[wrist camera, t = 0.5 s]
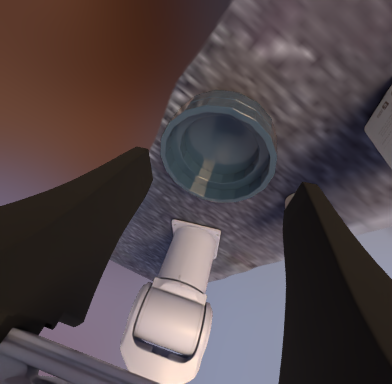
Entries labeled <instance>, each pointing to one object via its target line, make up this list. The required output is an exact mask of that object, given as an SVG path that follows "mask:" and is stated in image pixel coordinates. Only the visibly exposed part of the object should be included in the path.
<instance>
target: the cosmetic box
mask: <svg viewBox="0 0 392 384" xmlns="http://www.w3.org/2000/svg"><path fill="white" fill-rule="evenodd" d="M364 130H365V132H366V134H367V135H368V137H369V138H370V140H371V141H372V142H373V144H374V145H375V147H376V148H377V150H378V151H379V152H380V154H381V155H382V157H383V158H384V159H385V161H386V162H387V164H388V165H389V166H390V168H391V169H392V85H391V87H390V88H389V90H388V91H387V92H386V94H385V96H384V97H383V99H382V100H381V102H380V104H379V105H378V107H377V108H376V110H375V111H374V113H373V114H372V116H371V118H370V119H369V121H368V123H367V124H366V126H365V129H364Z"/></svg>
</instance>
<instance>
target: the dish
mask: <svg viewBox="0 0 392 384" xmlns="http://www.w3.org/2000/svg"><path fill="white" fill-rule="evenodd" d="M160 154H161V158H162V161H163V164H164V167H165V169H166V171H167V172H168V174H169V175H170V176H171V178H172V179H173V180H174V182H175V183H176V184H178V185H179V186H180V187H182V188H183V189H184V190H185V191H187V192H188V193H190V194H192V195H194V196H197V197H199V198H201V199H203V200H208V201H213V202H217V203H231V202H239V201H242V200H245V199H249V198H251V197H253V196H255V195H256V194H258V193H259V192H261V191H262V190H263V189H265V188H266V186H267V185H268V183H269V182H270V180H271V179H272V177H273V176H274V174H275V169H276V162H277V135H276V132H275V129H274V125H273V122H272V119H271V118H270V116H269V115H268V114H267V113H266V112H265V111H264V109H263V108H262V107H261V106H260V105H259V104H258V103H257V102H256V101H254V100H252V99H250V98H248V97H246V96H244V95H242V94H240V93H238V92H231V91H222V90H213V91H210V92H206V93H203V94H199V95H196V96H194V97H193V98H192V99H190V100H189V101H188V102H187V103H185V104H184V105H183V106H182V107H181V108H180V109H179V110H178V112H177V113H176V114H175V116H174V117H173V118H172V119H171V121H170V122H169V124H168V125H167V127H166V129H165V131H164V133H163V135H162V137H161V150H160Z"/></svg>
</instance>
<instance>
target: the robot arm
mask: <svg viewBox="0 0 392 384" xmlns="http://www.w3.org/2000/svg"><path fill="white" fill-rule="evenodd" d="M152 181H153V177H152V170H151V164H150V157H149V150H148V149H146V148H141V147H135V148H133V149H131V150H129V151H127V152H125V153H124V154H122V155H120V156H118V157H117V158H115V159H113V160H111V161H109V162H107V163H105V164H104V165H102V166H100V167H98V168H96V169H94V170H92V171H90V172H88V173H86V174H84V175H82V176H80V177H78V178H76V179H74V180H72V181H70V182H67V183H65V184H63V185H60V186H58V187H55V188H53V189H50V190H48V191H45V192H43V193H39V194H37V195H34V196H31V197H28V198H25V199H22V200H19V201H16V202H13V203H10V204H6V205H3V206H0V384H185V383H187V382H189V381H191V380H192V379H193V378H195V377H196V373H197V372H198V371H199V368H200V363H201V360H202V356H203V354H204V351H205V349H206V346H207V342H208V338H209V334H210V329H211V322H212V308H211V306H210V303H207V302H206V298H207V295H205V292H206V287H207V283H208V278H209V274H210V269H211V265H212V261H213V259H216V256H217V251H218V245H219V240H220V234H221V231H220V230H218V229H214V228H210V227H205V226H201V225H197V224H193V223H188V222H184V221H180V220H176V219H173V220H172V228H173V235H174V237H173V240H172V242H171V245H170V247H169V250H168V252H167V255H166V257H165V260H164V262H163V265H162V267H161V270H160V272H159V275H158V277H155V279H154V281H153V283H151V282H148V283H147V284H145V285H143V287H142V288H141V289H140V291H139V293H138V295H137V297H136V299H135V301H134V304H133V306H132V309H131V311H130V314H129V317H128V320H127V324H126V329H125V332H124V334H123V337H122V339H121V346H120V351H121V354H122V357H123V359H124V361H125V364H126V366H127V368H128V371H127V370H125V369H122V368H120V367H117V366H114V365H112V364H110V363H107V362H104V361H102V360H99V359H97V358H94V357H92V356H89V355H87V354H84V353H81V352H79V351H77V350H74V349H71V348H69V347H66V346H64V345H61V344H59V343H56V342H54V341H51V340H49V339H46V338H44V337H41V336H39V333H40V332H41V331H42V329H43V327H47V328H49V329H52V330H53V329H54V328H55V326H56V325H57V323H58V322H61V323H64V324H67V325H70V326H72V327H76V326H78V325H80V324H81V323H83V322H84V319H85V317H86V314H87V311H88V309H89V306H90V303H91V301H92V298H93V296H94V293H95V291H96V288H97V286H98V284H99V281H100V279H101V277H102V274H103V272H104V270H105V268H106V265H107V263H108V261H109V259H110V257H111V255H112V253H113V251H114V249H115V247H116V245H117V242H118V240H119V238H120V237H121V235H122V233H123V231H124V230H125V228H126V227H127V225H128V223H129V222H130V220H131V219H132V217H133V216H134V214H135V212H136V211H137V209H138V208H139V206H140V204H141V203H142V201H143V200H144V198H145V196H146V194H147V192H148V190H149V188H150V185H151V183H152ZM283 243H284V257H285V271H286V303H285V322H284V336H283V348H282V359H281V367H280V376H279V384H392V279H391V278H390V277H389V276H388V275H387V274H386V273H385V271H384V270H383V269H382V268H381V267H380V266H379V265H378V264H377V263H376V262H375V260H374V259H373V258H372V257H371V256H370V255H369V253H368V252H367V251H366V250H365V249H364V248H363V246H362V245H361V244H360V242H359V241H358V240H357V239H356V237H355V236H354V235H353V234H352V232H351V231H350V230H349V228H348V227H347V226H346V224H345V223H344V222H343V220H342V219H341V218H340V216H339V215H338V213H337V212H336V211H335V209H334V208H333V206H332V205H331V203H330V202H329V201H328V199H327V198H326V196H325V195H324V193H323V192H322V191H321V189H320V188H319V187H318V185H316V184H311V183H306V182H302V183H301V185H300V186H299V188H298V189H297V191H296V193H295V194H294V196H293V197H292V199H291V201H290V202H289V204H288V205H287V207H286V208H285V210H284V219H283ZM142 339H143V340H146V341H149V342H151V343H154V344H157V345H159V346H162V347H165V348H167V349H170V350H173V351H175V352H178V353H181V354H182V355H180V354H175V353H173V352H170V351H167V350H165V349H162V348H159V347H157V346H154V345H151V344H149V343H146V342H144V341H143V340H142ZM39 370H41V371H44V372H46V373H48V374H51V375H53V376H56V377H58V378H56V377H49V376H39V375H38V372H39Z"/></svg>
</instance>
